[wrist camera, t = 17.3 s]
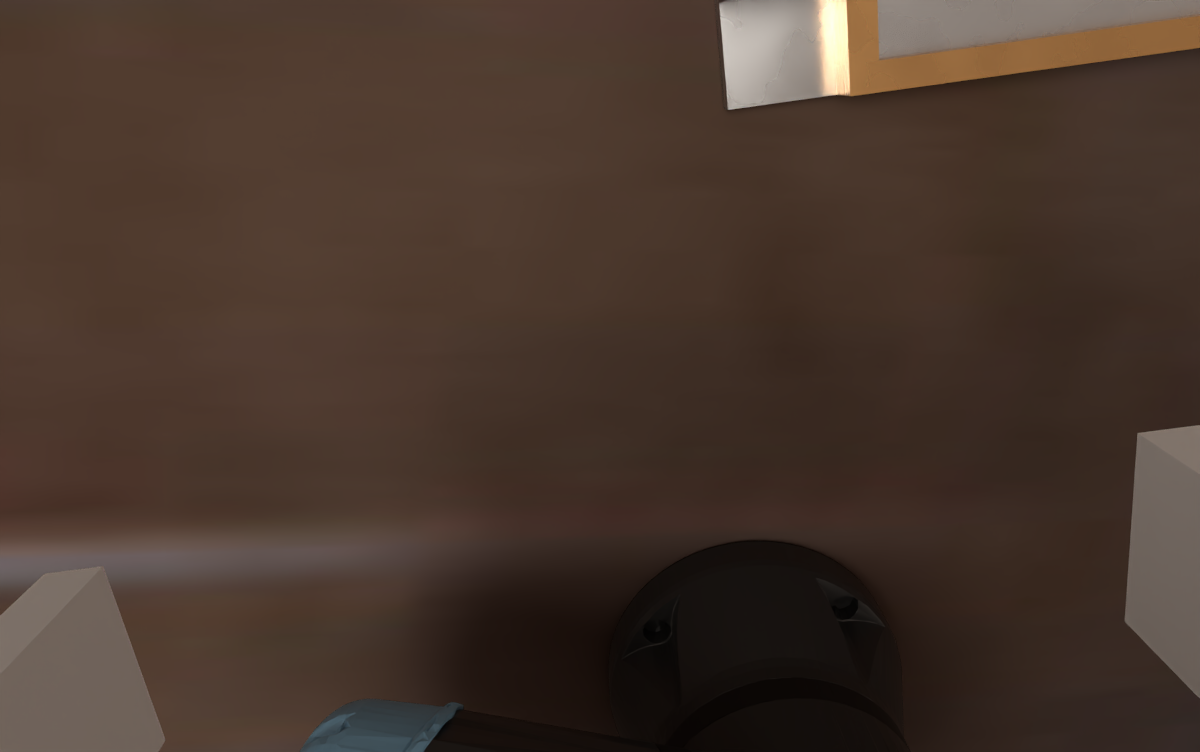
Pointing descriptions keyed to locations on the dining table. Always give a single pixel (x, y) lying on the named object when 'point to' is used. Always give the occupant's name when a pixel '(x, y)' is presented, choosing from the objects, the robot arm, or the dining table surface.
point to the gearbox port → (928, 41)
